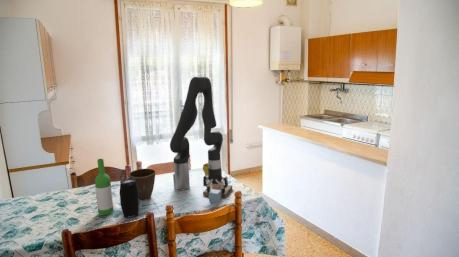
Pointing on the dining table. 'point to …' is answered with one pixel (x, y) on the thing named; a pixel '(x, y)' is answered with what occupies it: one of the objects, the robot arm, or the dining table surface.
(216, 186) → the terracotta block
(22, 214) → the dining table surface
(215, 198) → the slate blue block
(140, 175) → the plant pot
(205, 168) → the plant pot
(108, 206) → the wine bottle
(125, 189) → the portable speaker
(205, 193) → the walnut board
